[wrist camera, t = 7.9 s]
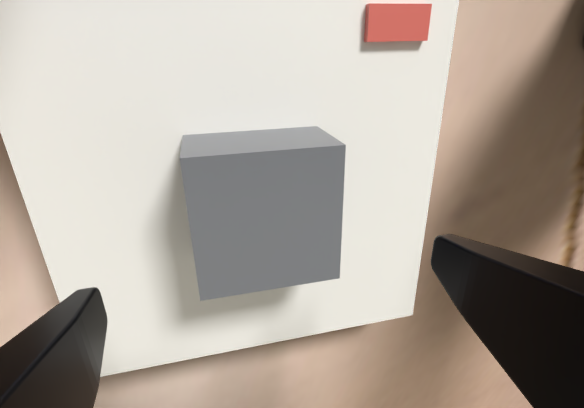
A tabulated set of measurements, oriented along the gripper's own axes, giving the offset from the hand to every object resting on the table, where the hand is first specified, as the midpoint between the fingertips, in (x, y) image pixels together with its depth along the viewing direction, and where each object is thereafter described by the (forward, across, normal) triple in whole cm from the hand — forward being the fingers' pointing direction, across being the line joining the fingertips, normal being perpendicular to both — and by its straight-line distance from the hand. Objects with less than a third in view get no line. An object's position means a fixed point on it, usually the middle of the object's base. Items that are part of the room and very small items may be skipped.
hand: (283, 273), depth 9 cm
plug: (+9, 0, 0) cm, 9 cm away
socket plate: (+9, 0, 0) cm, 9 cm away
